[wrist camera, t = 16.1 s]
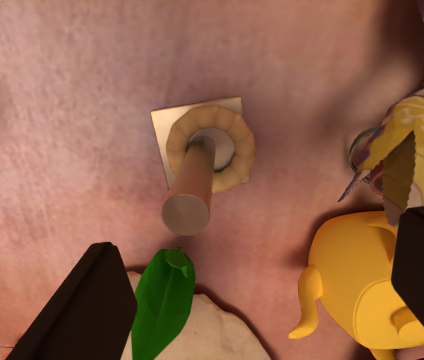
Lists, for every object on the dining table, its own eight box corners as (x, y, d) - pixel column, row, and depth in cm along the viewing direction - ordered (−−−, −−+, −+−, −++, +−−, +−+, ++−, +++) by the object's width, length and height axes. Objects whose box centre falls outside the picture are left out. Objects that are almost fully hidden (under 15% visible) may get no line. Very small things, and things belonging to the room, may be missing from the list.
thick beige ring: (160, 112, 22) (155, 115, 21) (249, 98, 22) (251, 100, 20) (178, 192, 25) (175, 200, 24) (257, 182, 25) (259, 190, 23)
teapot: (267, 258, 29) (287, 343, 20) (359, 171, 25) (438, 229, 16) (350, 313, 32) (401, 409, 23) (447, 244, 28) (557, 328, 19)
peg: (153, 109, 24) (79, 148, 11) (240, 95, 23) (260, 122, 11) (171, 188, 27) (129, 285, 14) (249, 178, 26) (273, 272, 14)
